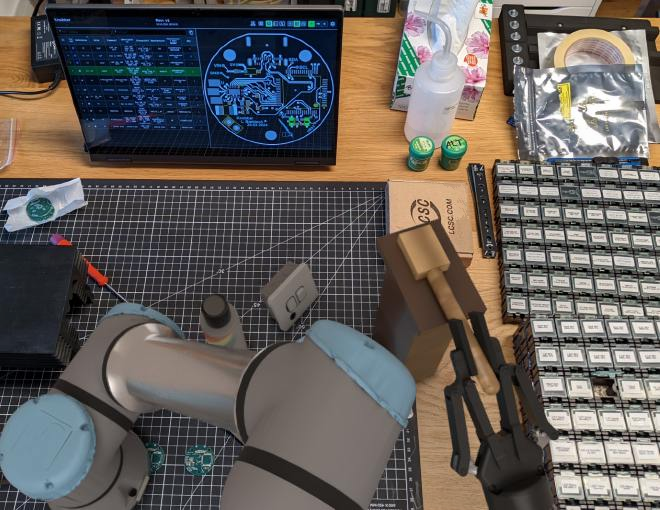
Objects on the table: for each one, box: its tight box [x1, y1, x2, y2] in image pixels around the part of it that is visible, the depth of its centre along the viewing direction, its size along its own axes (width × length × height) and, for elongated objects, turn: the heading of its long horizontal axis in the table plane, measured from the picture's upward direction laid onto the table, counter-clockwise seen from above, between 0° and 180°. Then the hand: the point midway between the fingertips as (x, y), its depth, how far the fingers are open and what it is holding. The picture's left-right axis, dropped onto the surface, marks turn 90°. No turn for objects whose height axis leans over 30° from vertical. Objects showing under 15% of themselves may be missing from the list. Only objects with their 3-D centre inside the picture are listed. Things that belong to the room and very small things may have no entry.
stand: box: [372, 218, 488, 383], centre depth 91 cm, size 9×14×30 cm, turn 20°
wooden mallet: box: [397, 225, 500, 396], centre depth 75 cm, size 4×22×2 cm, turn 20°
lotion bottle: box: [199, 292, 249, 350], centre depth 95 cm, size 6×6×20 cm
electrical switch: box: [258, 260, 320, 332], centre depth 105 cm, size 9×5×9 cm, turn 141°
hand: (465, 316), depth 71 cm, fingers closed on wooden mallet, 2 cm apart
